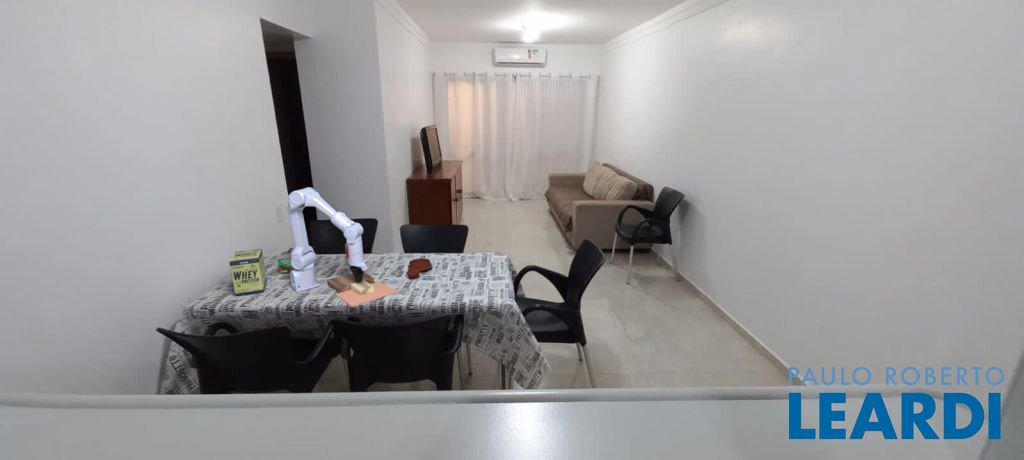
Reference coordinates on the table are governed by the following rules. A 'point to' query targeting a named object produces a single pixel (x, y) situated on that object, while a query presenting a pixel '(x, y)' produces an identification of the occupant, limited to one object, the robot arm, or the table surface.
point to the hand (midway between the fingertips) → (358, 281)
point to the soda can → (347, 251)
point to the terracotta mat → (356, 299)
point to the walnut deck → (347, 282)
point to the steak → (418, 267)
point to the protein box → (248, 272)
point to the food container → (285, 261)
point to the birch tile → (362, 288)
